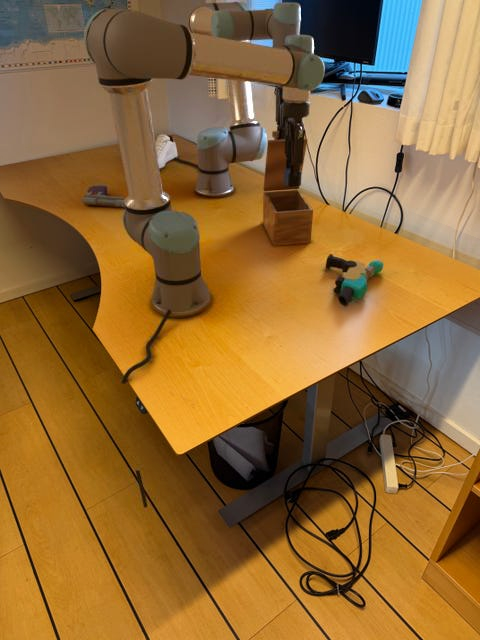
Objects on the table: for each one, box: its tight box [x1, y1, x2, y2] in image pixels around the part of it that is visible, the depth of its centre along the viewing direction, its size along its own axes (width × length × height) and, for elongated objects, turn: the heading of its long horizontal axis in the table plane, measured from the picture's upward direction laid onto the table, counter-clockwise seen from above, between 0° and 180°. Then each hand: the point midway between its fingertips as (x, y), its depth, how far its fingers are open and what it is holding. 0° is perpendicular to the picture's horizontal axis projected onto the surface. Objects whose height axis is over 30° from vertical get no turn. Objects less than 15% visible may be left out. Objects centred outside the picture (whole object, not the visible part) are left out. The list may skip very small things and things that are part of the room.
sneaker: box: [155, 133, 179, 169], centre depth 214 cm, size 10×29×12 cm, turn 163°
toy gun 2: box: [325, 253, 385, 307], centre depth 130 cm, size 4×26×15 cm
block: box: [283, 168, 303, 187], centre depth 143 cm, size 4×4×4 cm
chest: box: [262, 189, 314, 247], centre depth 156 cm, size 18×12×11 cm
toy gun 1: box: [81, 184, 126, 208], centre depth 181 cm, size 4×19×15 cm
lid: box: [262, 130, 308, 192], centre depth 154 cm, size 18×12×8 cm
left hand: (291, 183), depth 144 cm, fingers closed on block, 4 cm apart
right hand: (281, 148), depth 153 cm, fingers closed on lid, 2 cm apart
